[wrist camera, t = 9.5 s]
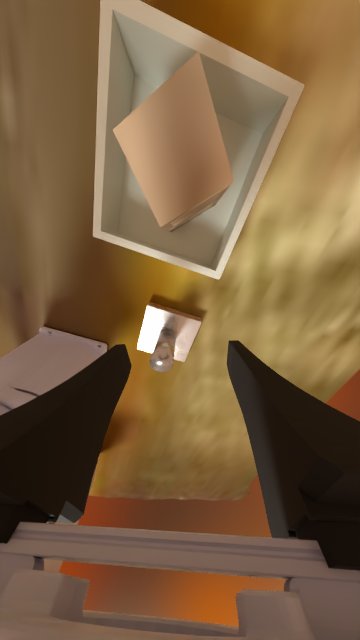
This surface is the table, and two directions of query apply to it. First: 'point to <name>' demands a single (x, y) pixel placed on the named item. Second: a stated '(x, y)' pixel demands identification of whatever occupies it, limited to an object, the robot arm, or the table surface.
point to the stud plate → (172, 322)
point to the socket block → (177, 148)
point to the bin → (232, 115)
